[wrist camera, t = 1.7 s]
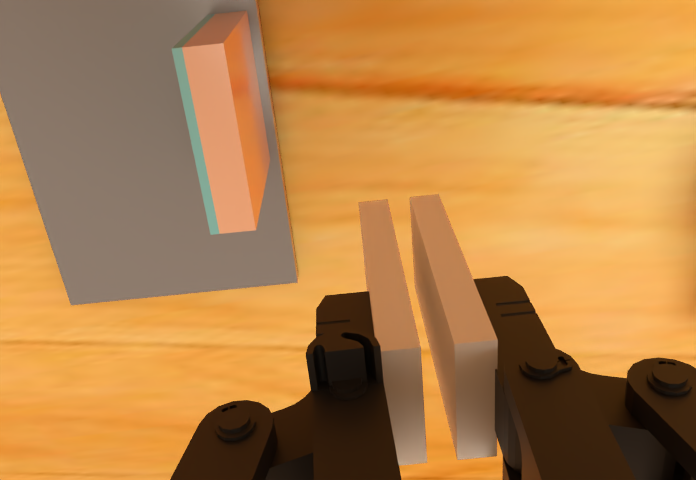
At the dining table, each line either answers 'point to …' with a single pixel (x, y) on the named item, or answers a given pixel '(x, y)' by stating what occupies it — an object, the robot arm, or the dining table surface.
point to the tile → (224, 119)
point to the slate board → (129, 150)
